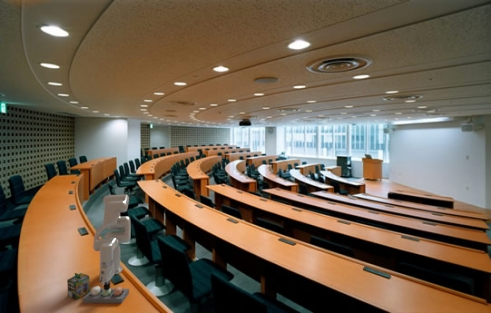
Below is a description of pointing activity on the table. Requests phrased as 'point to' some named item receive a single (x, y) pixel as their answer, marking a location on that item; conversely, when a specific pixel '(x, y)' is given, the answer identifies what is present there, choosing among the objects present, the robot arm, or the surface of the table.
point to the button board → (104, 299)
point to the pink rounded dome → (117, 291)
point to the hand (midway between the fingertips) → (106, 288)
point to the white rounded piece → (95, 291)
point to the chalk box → (78, 286)
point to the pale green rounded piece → (107, 292)
